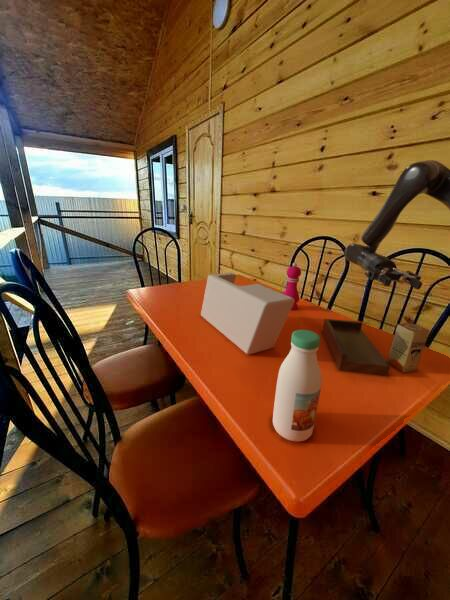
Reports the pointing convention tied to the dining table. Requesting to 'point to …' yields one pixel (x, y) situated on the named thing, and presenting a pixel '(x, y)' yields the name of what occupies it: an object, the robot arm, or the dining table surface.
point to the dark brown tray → (353, 348)
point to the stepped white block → (245, 312)
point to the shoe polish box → (407, 346)
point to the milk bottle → (298, 388)
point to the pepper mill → (293, 284)
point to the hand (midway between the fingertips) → (404, 284)
